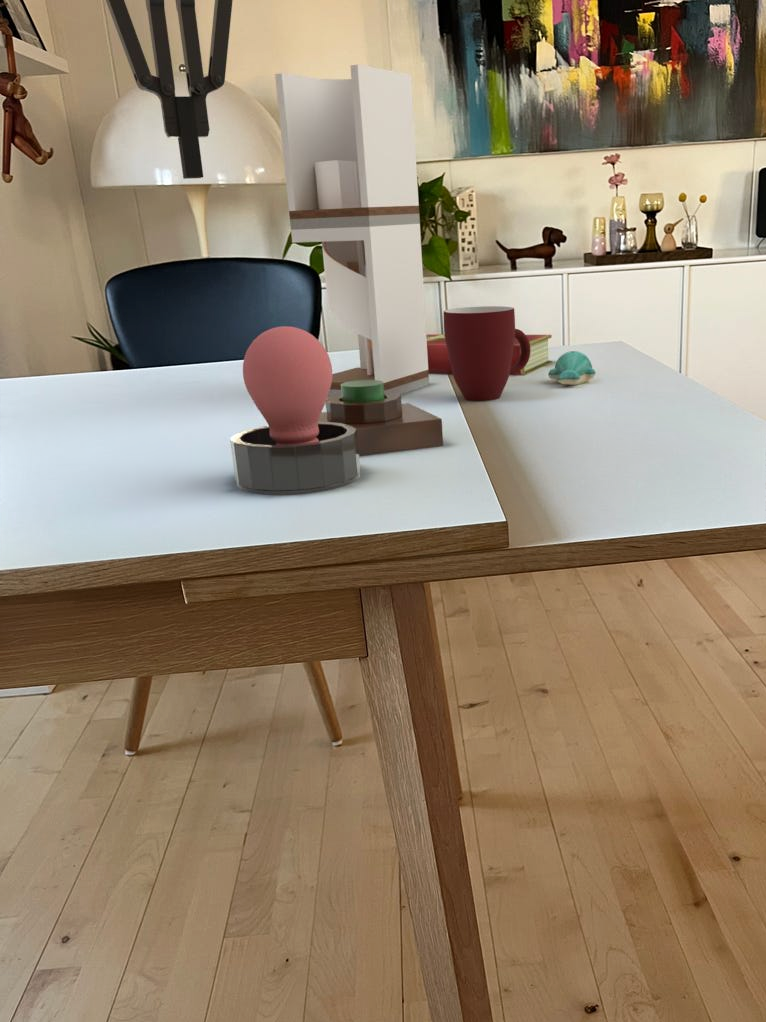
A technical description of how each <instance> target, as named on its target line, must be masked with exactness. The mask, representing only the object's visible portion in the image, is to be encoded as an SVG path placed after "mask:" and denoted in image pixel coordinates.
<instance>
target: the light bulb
mask: <svg viewBox="0 0 766 1022" xmlns="http://www.w3.org/2000/svg"><path fill="white" fill-rule="evenodd" d="M332 374H333V366H332V361H331V358H330V355H329V354H328V352H327V349H326V348H325V346H324V344H322V343H321V341H319V339H318V338H316V337H315V336H314V335H313V334H312V333H310V332H308V331H306V330H304V329H301V328H299V327H295V326H290V325H289V326H287V325H286V326H285V325H283V326H276V327H272V328H270V329H268V330H265V331H263V332H262V333H260V334H259V335H258V336H257V337H256V338H254V339H253V341H252V342H251V343H250V345H249V346H248V348H247V349H246V352H245V355H244V357H243V363H242V378H243V383H244V386H245V389H246V390H247V393H248V395H249V396H250V398H251V400H252V402H253V403H254V405H255V407H256V409H257V410H258V411H259V413H260V414H261V415H262V417H263V418H264V420H265V422H266V423H267V426H268V425H269V428H270V437H271V438H272V439H273V440H274V441H276V445H293V444H302V443H311V442H318V439H317V438H316V437H317V436H318V434H319V428H318V420H319V417H320V415H321V412H323V409H324V407H325V406H326V400H327V399H328V398H327V396H328V393H329V390H330V387H331V383H332Z"/></svg>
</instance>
